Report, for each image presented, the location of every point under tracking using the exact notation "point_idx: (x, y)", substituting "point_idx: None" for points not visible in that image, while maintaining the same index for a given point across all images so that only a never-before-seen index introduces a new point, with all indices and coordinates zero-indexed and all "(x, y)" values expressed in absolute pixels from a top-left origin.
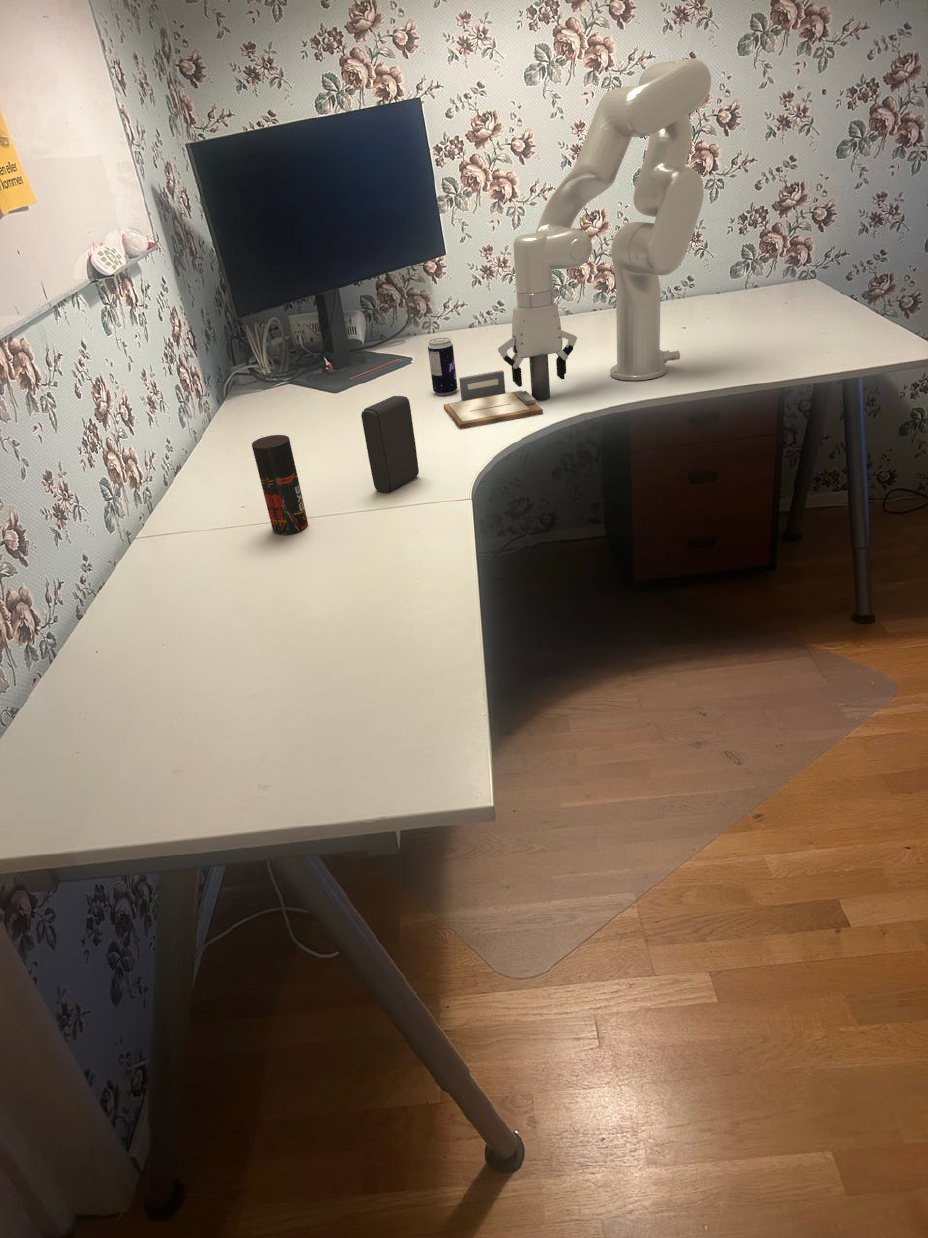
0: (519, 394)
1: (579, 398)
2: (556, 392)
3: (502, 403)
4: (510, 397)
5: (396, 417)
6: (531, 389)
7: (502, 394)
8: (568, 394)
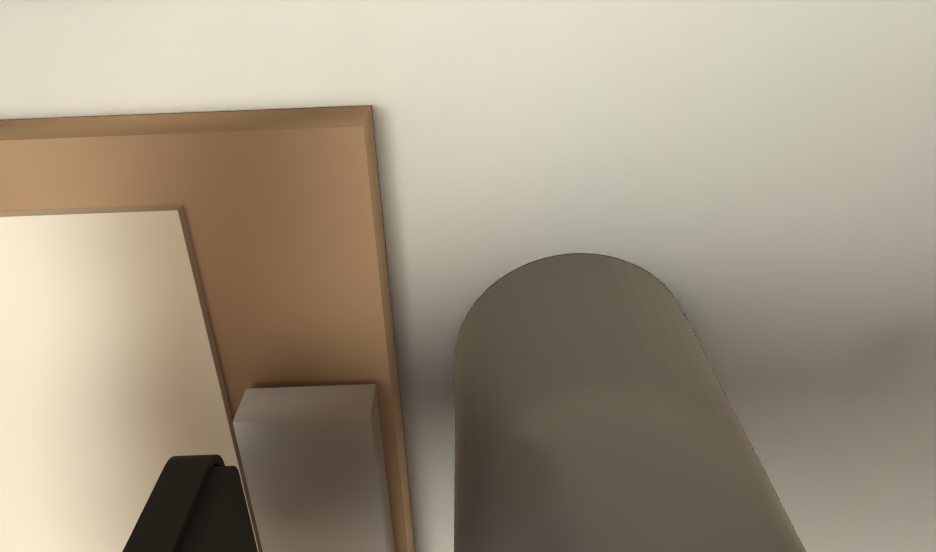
0: (255, 506)
1: (917, 546)
2: (840, 250)
3: (33, 545)
4: (145, 397)
5: None
6: (455, 434)
7: (22, 222)
8: (910, 390)
